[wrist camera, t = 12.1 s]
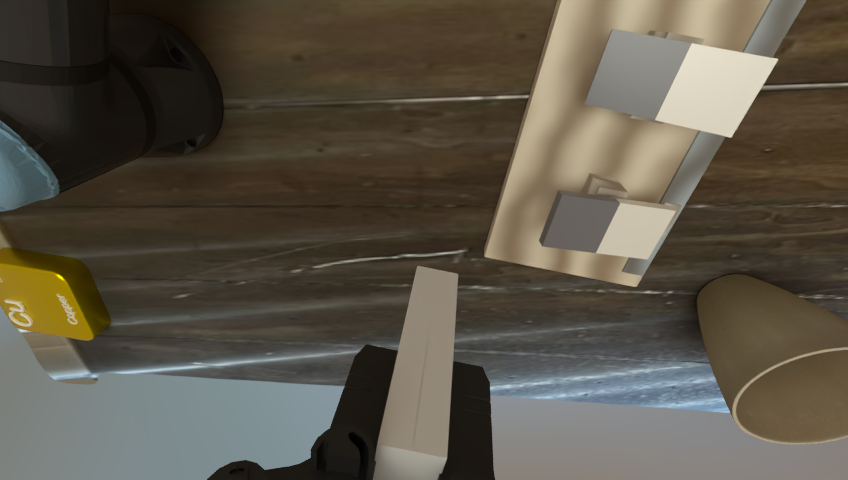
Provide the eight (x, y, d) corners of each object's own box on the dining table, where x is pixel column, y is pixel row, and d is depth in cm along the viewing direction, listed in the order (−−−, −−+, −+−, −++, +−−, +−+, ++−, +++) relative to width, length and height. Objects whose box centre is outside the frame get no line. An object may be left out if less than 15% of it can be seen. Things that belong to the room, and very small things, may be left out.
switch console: (484, 248, 50) (485, 275, 45) (579, -73, 33) (598, -90, 27) (630, 277, 50) (648, 307, 45) (807, -31, 32) (870, -39, 27)
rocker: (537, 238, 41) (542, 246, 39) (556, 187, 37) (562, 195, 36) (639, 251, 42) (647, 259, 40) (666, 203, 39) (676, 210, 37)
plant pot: (643, 294, 51) (704, 394, 38) (758, 227, 45) (883, 320, 31) (700, 352, 55) (774, 462, 42) (815, 299, 49) (946, 409, 35)
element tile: (116, 325, 68) (93, 345, 64) (38, 312, 69) (11, 331, 65) (86, 258, 60) (58, 276, 56) (-1, 244, 61) (-36, 260, 57)
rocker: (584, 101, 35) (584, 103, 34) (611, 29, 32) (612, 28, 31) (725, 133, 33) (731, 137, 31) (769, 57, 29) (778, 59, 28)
